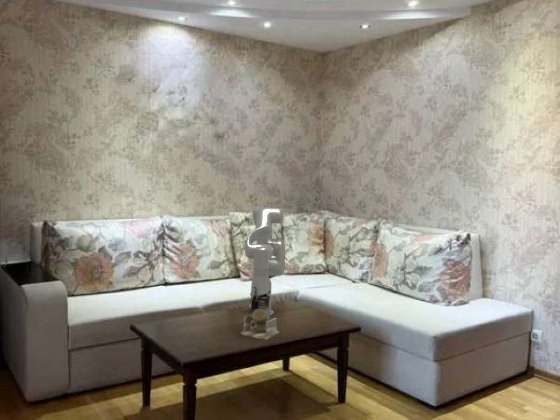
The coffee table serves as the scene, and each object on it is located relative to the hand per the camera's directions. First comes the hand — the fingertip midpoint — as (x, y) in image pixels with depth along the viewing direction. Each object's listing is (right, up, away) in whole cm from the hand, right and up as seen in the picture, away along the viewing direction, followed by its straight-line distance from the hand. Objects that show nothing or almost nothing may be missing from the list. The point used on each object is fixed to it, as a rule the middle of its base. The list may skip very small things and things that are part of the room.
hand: (260, 306), depth 252 cm
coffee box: (0, -11, +1) cm, 11 cm away
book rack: (0, -14, +1) cm, 14 cm away
